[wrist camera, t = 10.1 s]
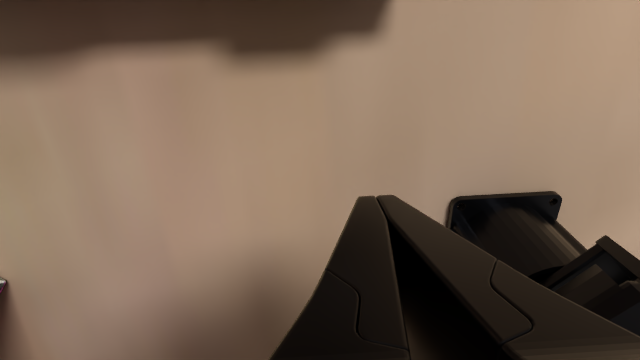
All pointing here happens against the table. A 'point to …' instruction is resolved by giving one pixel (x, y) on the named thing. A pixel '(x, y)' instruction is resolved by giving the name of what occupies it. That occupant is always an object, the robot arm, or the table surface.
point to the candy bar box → (2, 284)
